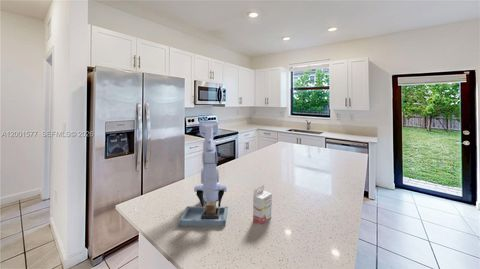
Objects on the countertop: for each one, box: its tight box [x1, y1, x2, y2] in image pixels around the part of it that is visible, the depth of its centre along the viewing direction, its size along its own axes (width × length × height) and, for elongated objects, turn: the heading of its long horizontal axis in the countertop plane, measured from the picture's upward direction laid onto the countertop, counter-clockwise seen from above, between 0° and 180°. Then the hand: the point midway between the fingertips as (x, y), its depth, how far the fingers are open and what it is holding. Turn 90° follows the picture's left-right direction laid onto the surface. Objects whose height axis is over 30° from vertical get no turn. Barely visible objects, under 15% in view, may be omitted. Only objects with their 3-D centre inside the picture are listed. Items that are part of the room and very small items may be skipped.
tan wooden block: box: [205, 201, 217, 215], centre depth 96 cm, size 4×4×7 cm
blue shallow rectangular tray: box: [178, 206, 229, 227], centre depth 97 cm, size 20×13×3 cm, turn 89°
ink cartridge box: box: [252, 184, 273, 225], centre depth 95 cm, size 9×5×15 cm, turn 141°
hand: (211, 206), depth 96 cm, fingers open, 7 cm apart
